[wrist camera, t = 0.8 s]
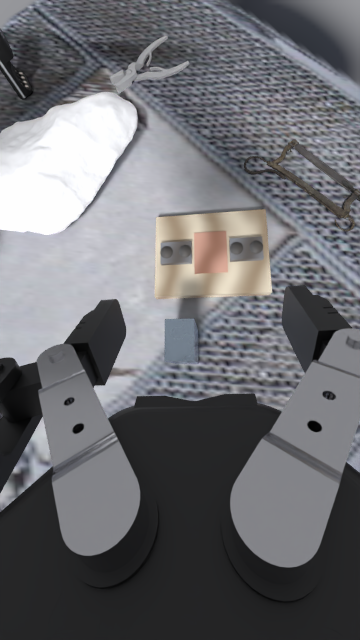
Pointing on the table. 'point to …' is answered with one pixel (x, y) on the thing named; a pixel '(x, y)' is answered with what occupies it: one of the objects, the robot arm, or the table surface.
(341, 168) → the table surface
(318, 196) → the hacksaw
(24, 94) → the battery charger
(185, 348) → the link block
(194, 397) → the table surface
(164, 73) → the pliers
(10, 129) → the crumpled cloth
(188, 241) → the tan flat wooden board
